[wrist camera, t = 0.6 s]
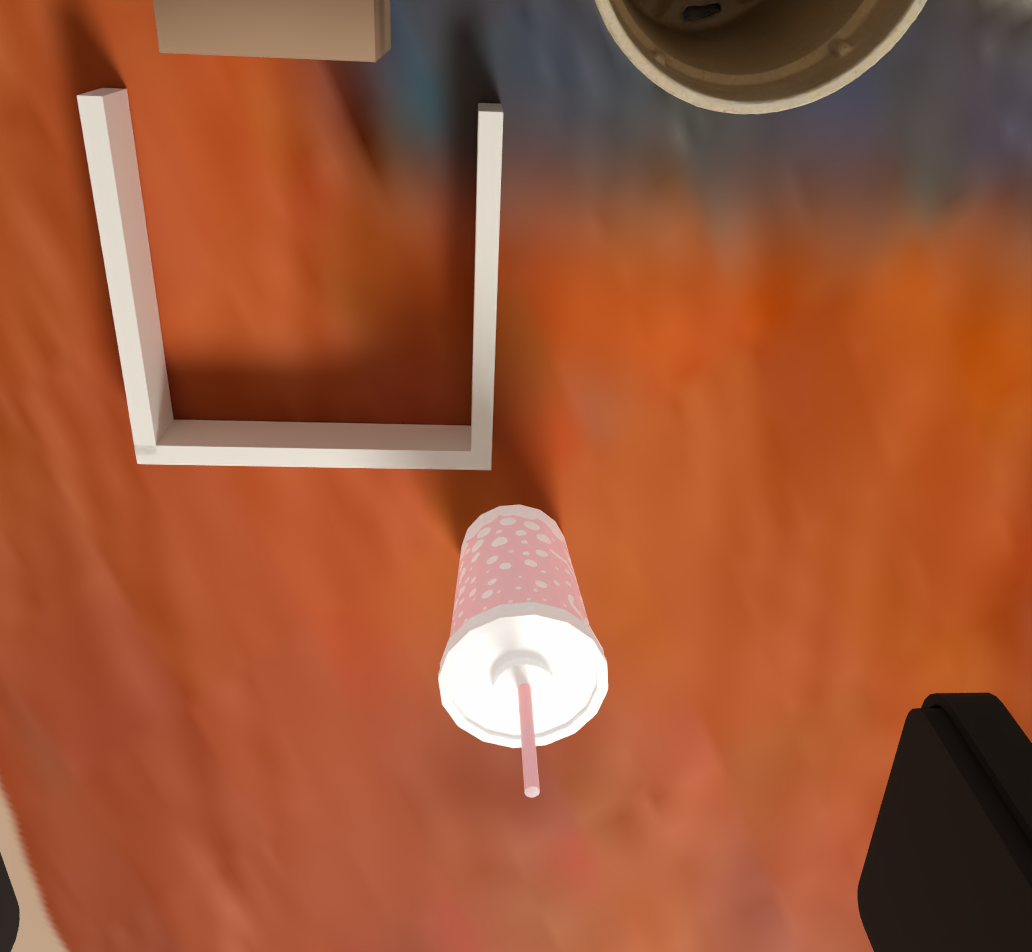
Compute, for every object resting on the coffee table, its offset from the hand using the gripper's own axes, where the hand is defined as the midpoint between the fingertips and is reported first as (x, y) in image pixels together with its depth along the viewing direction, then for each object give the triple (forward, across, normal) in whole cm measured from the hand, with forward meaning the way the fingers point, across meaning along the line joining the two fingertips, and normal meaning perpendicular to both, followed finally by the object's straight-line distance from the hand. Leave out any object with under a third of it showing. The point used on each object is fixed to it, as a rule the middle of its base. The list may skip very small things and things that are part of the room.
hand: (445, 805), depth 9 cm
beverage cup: (+28, -2, +15) cm, 32 cm away
